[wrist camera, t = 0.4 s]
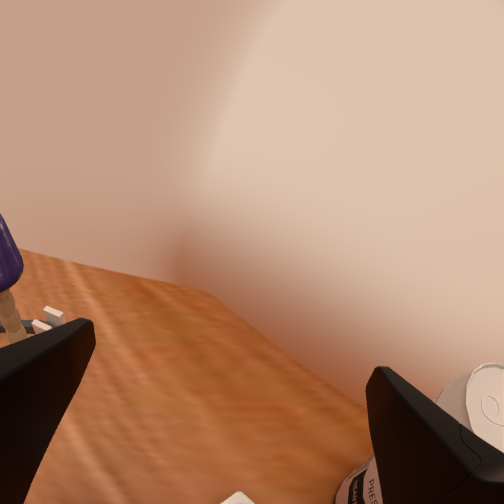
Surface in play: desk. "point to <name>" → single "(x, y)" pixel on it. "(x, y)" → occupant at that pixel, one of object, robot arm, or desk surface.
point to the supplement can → (459, 407)
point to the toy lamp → (9, 285)
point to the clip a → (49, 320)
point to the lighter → (238, 499)
